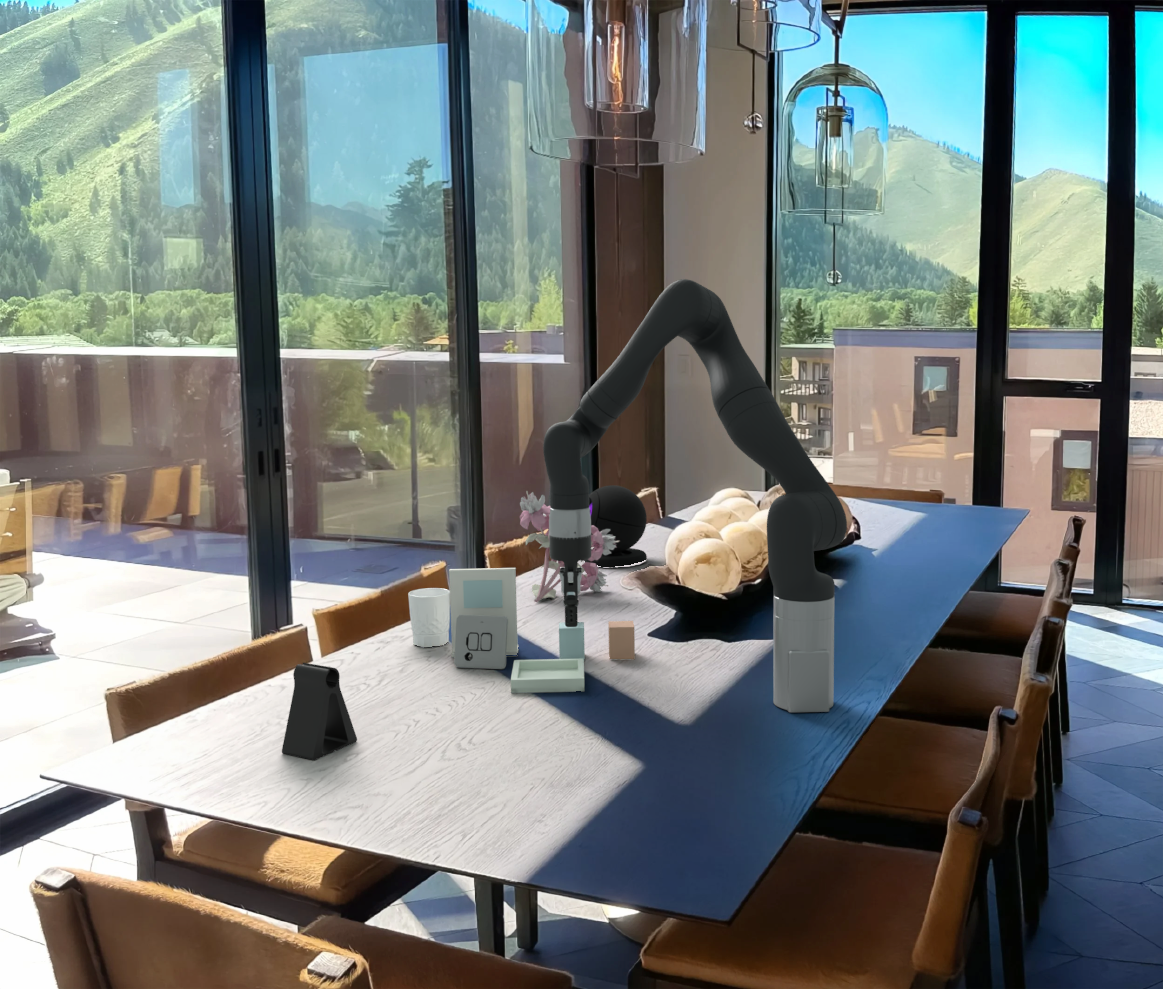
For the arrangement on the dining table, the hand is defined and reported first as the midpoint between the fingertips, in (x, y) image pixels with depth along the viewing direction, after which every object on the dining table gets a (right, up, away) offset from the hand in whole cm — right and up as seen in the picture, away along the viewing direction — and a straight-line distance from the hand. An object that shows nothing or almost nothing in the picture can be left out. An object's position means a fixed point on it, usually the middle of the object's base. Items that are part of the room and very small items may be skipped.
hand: (571, 620), depth 209 cm
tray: (-4, -9, -14) cm, 17 cm away
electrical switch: (-16, -8, -4) cm, 18 cm away
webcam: (+10, +5, +91) cm, 92 cm away
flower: (0, 0, +53) cm, 53 cm away
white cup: (-27, -6, +12) cm, 30 cm away
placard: (-16, -7, +3) cm, 18 cm away
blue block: (0, -7, 0) cm, 7 cm away
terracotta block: (+9, -7, +1) cm, 11 cm away
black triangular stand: (-35, -14, -44) cm, 58 cm away
